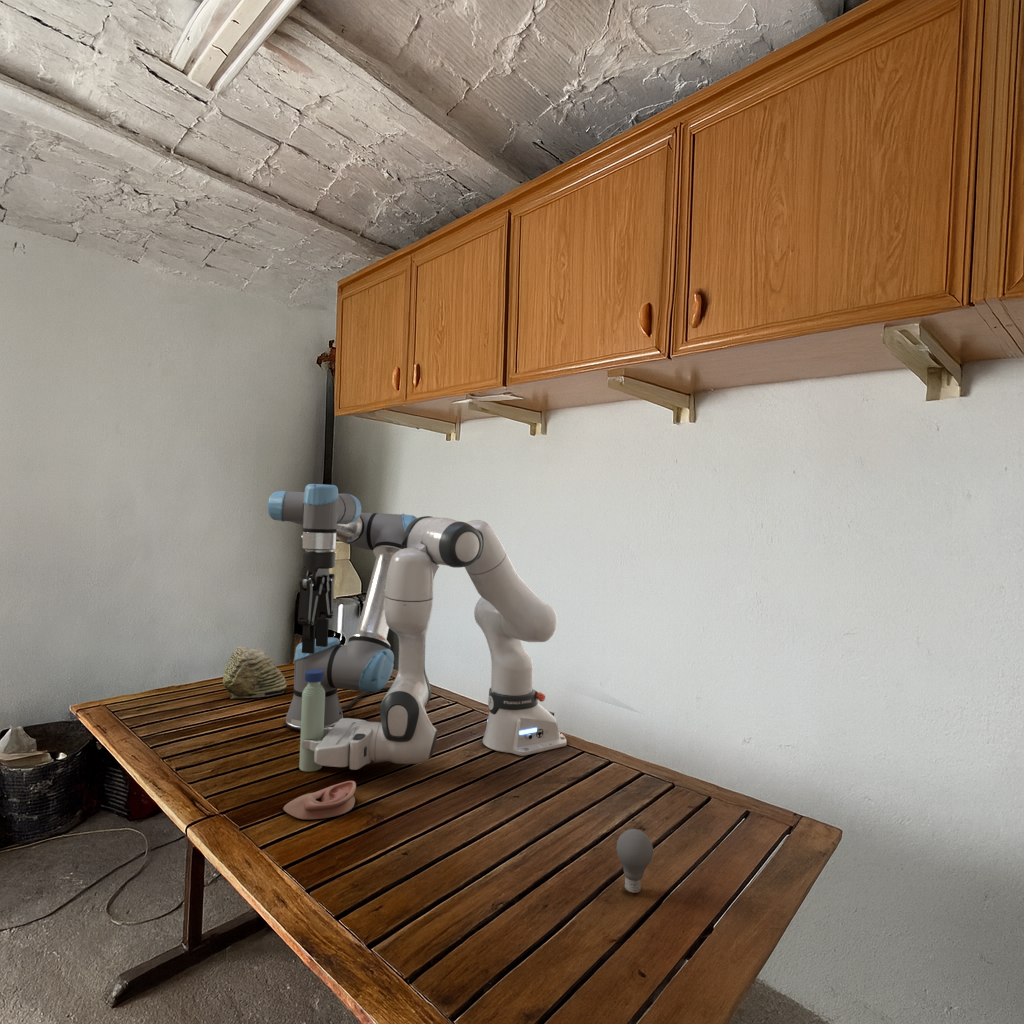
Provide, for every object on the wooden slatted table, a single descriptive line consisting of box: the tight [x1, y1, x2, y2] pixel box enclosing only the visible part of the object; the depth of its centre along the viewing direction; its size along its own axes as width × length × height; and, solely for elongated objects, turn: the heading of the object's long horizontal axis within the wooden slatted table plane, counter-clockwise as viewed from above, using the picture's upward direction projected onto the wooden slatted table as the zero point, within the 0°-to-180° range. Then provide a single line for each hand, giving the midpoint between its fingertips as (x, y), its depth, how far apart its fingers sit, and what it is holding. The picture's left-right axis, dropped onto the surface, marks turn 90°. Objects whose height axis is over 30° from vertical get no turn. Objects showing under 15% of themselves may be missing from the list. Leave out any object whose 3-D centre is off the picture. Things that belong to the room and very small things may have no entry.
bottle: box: [298, 682, 325, 773], centre depth 148 cm, size 5×5×22 cm
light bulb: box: [615, 828, 654, 894], centre depth 106 cm, size 6×6×10 cm
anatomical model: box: [282, 780, 357, 820], centre depth 129 cm, size 13×4×12 cm
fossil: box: [222, 646, 288, 699], centre depth 198 cm, size 9×18×15 cm, turn 132°
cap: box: [305, 669, 324, 682], centre depth 148 cm, size 4×4×2 cm
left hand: (314, 649), depth 147 cm, fingers open, 6 cm apart
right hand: (308, 738), depth 148 cm, fingers closed on bottle, 5 cm apart
